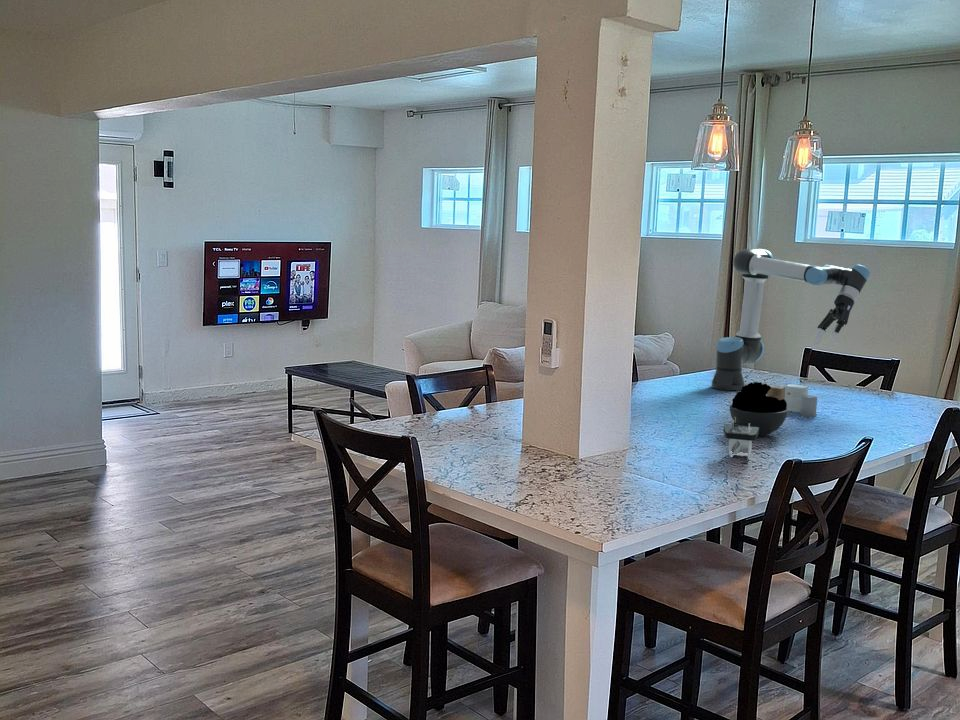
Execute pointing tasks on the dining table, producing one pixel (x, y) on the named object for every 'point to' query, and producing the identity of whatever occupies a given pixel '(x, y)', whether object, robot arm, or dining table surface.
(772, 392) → the walnut block
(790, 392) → the small box
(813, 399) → the white rectangular block
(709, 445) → the dining table surface
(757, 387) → the bowl of black rocks
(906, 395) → the dining table surface
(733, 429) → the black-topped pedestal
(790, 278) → the robot arm
